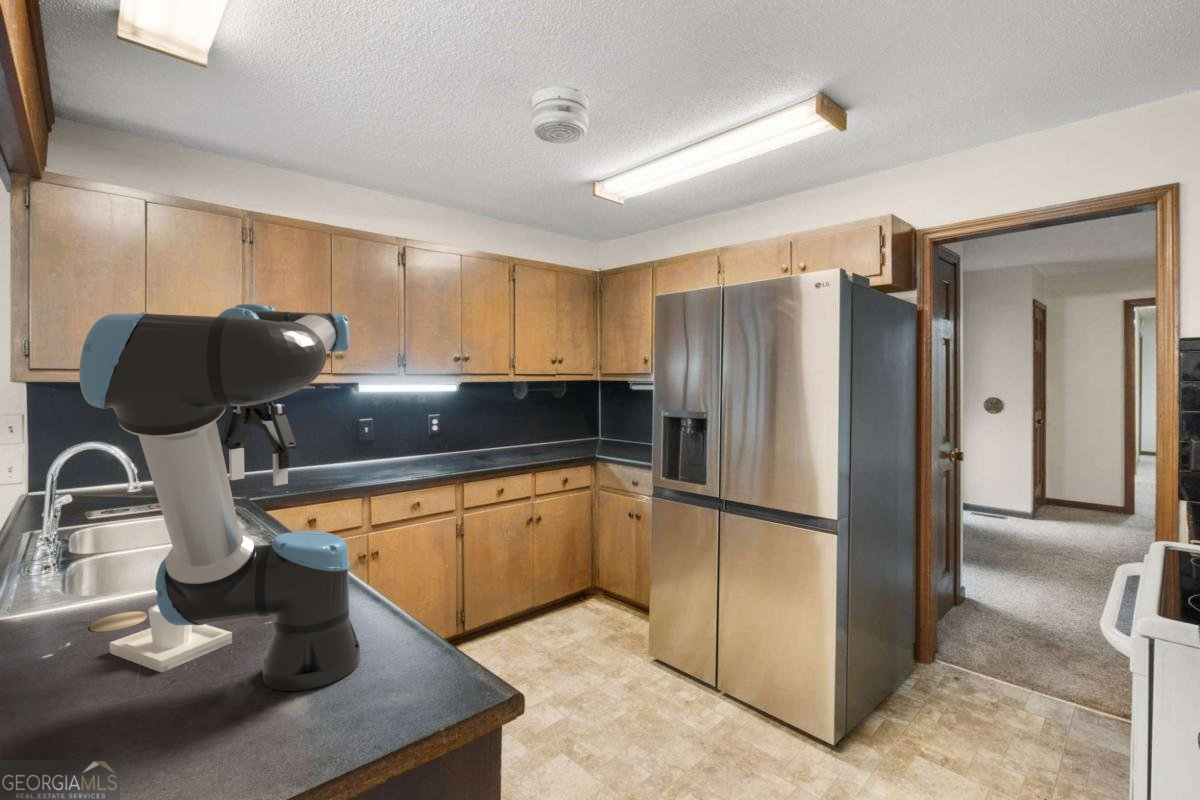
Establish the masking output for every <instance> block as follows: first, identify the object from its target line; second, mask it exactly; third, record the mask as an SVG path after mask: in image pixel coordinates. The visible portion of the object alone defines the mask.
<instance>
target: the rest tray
mask: <svg viewBox="0 0 1200 800" xmlns="http://www.w3.org/2000/svg"><path fill="white" fill-rule="evenodd" d="M230 644H233V632H232V631H230V630H229V631H228V630H226V629H222V628H218V627H216V626H211V625H209V624H204V625H192V632H191V640H190V641H189V642H187V643H185V644H184V645H181V646H178V647H175V648H171V649H163V650H160V649H155V648H154V647H153V640H152V633H151V627H149V628H147V629H144V630H141V631H138V632H136V633H132V634H130V635H127V636H125V637H124V636H123V637H121V638H118V639H116V640H113V641H110V642H109V653H110V655H114V656H116V657H119V658H122V659H124V660H126V661H129V662H131V663H132V662H133V663H135V664H138V665H140V666H142V667H145V668H148V669H150V670H154V671H156V672H158V673H161V674H163V673H164V672H167V671H170V670H171V669H174V668H176V667H178V666H181V665H183V664H185V663H188V662H190V661H193V660H195V659H197V658H200V657H202V656H204V655H207V654H209V653H211V652H214V651H216V650H219V649H221V648H224V647H225V646H228V645H230Z"/></svg>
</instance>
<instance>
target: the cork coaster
mask: <svg viewBox="0 0 1200 800" xmlns="http://www.w3.org/2000/svg"><path fill="white" fill-rule="evenodd" d="M147 618H148V614H147V612H145V611H126V612H120V613H115V614H112V615H111V614H110V615H108V616H105V617H102V618H99V619H97V620H95V621H93V622H92V623H91V624H90V625H89V630H90V631H91V632H96V633H106V632H112V631H113V632H115V631H119V630H120V631H121V630H124V629H126V628H127V629H128V628H131V627H134V626H135V625H139V624H141V623H142V622H144V621H146V619H147Z"/></svg>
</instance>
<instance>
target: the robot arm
mask: <svg viewBox="0 0 1200 800" xmlns="http://www.w3.org/2000/svg"><path fill="white" fill-rule="evenodd" d="M349 347H350V321H349V318H348V316H346V314H341V313H332V312H327V313H324V312H301V311H300V312H299V311H297V312H295V311H293V312H292V311H282V310H281V311H280V310H279V311H277V310H276V309H275V307H273V306H271V305H270V306H269V305H267V304H266V305H264V304H255V303H239V304H237V305H236V306H234V307H230V308H227V309H224V311H221V312H220V314H219V315H218V316H208V315H207V316H205V315H204V316H203V315H181V314H179V315H178V314H157V313H149V312H147V311H144V312H140V313H111V314H107V315H104V316H103V317H101V318H100V319H98V320H96V322H95V323H94V324H93V325H92V326H91V327H90V329H89V330H88V333H87V335H86V337H85V340H84V342H83V346H82V350H81V354H80V359H79V375H78V376H79V387H80V391H81V393H82V396H83V398H84V400H85V401H86V403H87V404H88V405H90V406H91V407H94V408H100V409H103V410H106V409H109V408H110V409H113V411H114V412H115V416H116V418H117V422H118V424H119V426H120V427H121V428H122V430H124V431H125V432H127V433H130V434H132V435H135V436H138V438H139V441H140V445H141V448H142V452H143V454H144V455H143V456H144V458H145V461H146V465H147V467H148V471H149V474H150V477H151V480H152V483H153V484H152V485H153V487H154V489H155V494H156V496H157V500H158V503H159V507H160V510H161V513H162V517H163V520H164V523H165V525H166V530H167V533H168V537H169V539H170V542H171V545H172V548H171V549H170V550H169V552H168V553H167V554H166V557H164V558H163V560H161V562H160V564H159V567H158V570H157V571H156V572H157V573H156V577H155V591H156V593H157V594H156V605H158V608H159V610H160V612H161V614H162V616H163V617H164V618H165V620H167V621H168V622H169V623H171V624H174V625H179V626H182V625H204V624H206V625H209V624H213V623H214V624H216V623H223V622H230V621H237V620H238V621H239V620H244V619H246V620H247V619H253V618H261V617H269V616H273V627H274V631H273V634H272V637H271V640H270V645H269V646H268V651H267V654H266V657H265V659H264V661H263V663H262V664H263V665H262V680H263V684H265V685H266V686H267V687H268V688H270V689H273V690H277V691H282V692H296V691H297V692H299V691H306V690H311V689H315V688H320V687H323V686H327V685H329V684H332V683H334V682H337V681H339V680H341V679H343V678H345V677H346V676H348V675H350V674H351V673H352V672H354V670H356V668H357V667H358V666H359V664H360V662H361V645H360V643H359V640H358V638H357V635H356V632H355V630H354V627H353V624H352V622H351V619H350V592H349V591H350V589H349V588H350V587H349V584H350V583H349V577H350V576H349V568H350V567H351V562H350V561H351V560H350V558H349V548H348V547H349V546H348V543H347V542H346V540H345V539H344V538H343V537H341V536H339V535H337V534H334V533H331V532H326V531H315V530H298V531H293V532H284V533H280V534H278V535H277V536H275V537H274V538H273V540H272V542H271V544H261V545H255V543H254V540H253V537H252V536H251V535H250V534H249V532H248V531H246V530H245V529H242V528H240V526H239V523H238V518H237V514H236V513H237V512H236V507H235V503H234V498H233V494H232V488H231V484H230V481H236V480H241V479H245V448H244V447H245V446H244V442H245V440H246V439H247V436H248V435H249V433H250V431H251V430H252V428H253V426H258V427H259V428H261V429H263V432H264V433H265V435H266V437H267V439H268V440H269V442H270V444H271V445H272V447H273V449H274V451H273V452H272V482H273V483H272V485H273V486H275V487H277V486H282V485H287V484H288V485H289V468H290V467H289V466H290V463H289V458H290V457H289V456H290V455H289V453H290V452H291V451H294V450H296V449H297V448H298V445H297V443H296V440H295V437H294V435H293V434H294V433H293V432H292V429H291V426H290V423H289V422H290V421H289V420H288V417H287V414H286V413H287V412H286V406H285V404H284V403H277V404H276V403H274V400H278V399H280V398H283V397H286V396H289V395H292V394H293V393H296V392H298V391H300V390H302V389H303V388H305V387H307V386H308V385H310V384H311V383H313V382H314V381H315V380H317V378H318V376H319V375H320V374H321V373H322V371H323V369H324V367H325V365H326V361H327V353H328V352H331V353H335V352H346V351H348V349H349ZM227 407H229V414H228V417H227V420H226V423H225V427H224V430H223V433H222V436H221V437H220V434H219V428H218V423H217V421H218V420H219V419H221V417H222V416H223V415H224V414H225V411H226V408H227ZM223 446H225V447H226V449H227V450H228V464H229V465H228V467H229V470H228V471H229V475H228V471H227V465H226V461H225V456H224V452H223Z"/></svg>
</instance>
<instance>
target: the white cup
mask: <svg viewBox="0 0 1200 800" xmlns="http://www.w3.org/2000/svg"><path fill="white" fill-rule="evenodd" d="M147 611H148V619H149V624H150V628H151V633H152V640H153V647H154V648H155V649H160V650H163V649H171V648H175V647H178V646H181V645H184V644H185V643H187V642H189V641H190V640H191V632H192V625H182V626H179V625H174V624H171V623H169V622H168V621H167V620H165V618H164V617H163V616H162V614H161V612H160V610H159V608H158V605H157V604H155V605H153V606H151V607H149V608H148V610H147Z"/></svg>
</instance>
